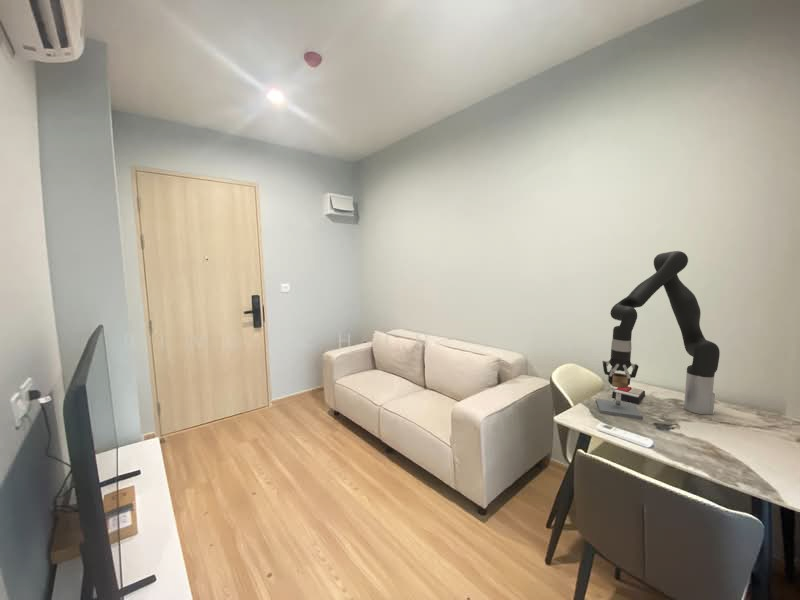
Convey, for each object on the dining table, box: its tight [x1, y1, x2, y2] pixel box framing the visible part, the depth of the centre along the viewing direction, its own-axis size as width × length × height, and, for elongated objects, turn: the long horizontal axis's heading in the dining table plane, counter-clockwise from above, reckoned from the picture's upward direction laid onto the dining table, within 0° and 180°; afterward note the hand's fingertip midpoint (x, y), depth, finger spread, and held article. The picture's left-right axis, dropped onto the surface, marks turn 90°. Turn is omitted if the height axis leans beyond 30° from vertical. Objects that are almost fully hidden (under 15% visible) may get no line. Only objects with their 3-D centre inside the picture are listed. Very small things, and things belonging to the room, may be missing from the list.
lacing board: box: [595, 398, 644, 420], centre depth 150 cm, size 16×14×2 cm
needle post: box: [615, 392, 622, 406], centre depth 149 cm, size 2×2×6 cm
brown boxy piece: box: [610, 372, 629, 389], centre depth 148 cm, size 6×6×5 cm
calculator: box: [611, 385, 646, 405], centre depth 164 cm, size 11×4×15 cm
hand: (618, 384), depth 149 cm, fingers closed on brown boxy piece, 5 cm apart
